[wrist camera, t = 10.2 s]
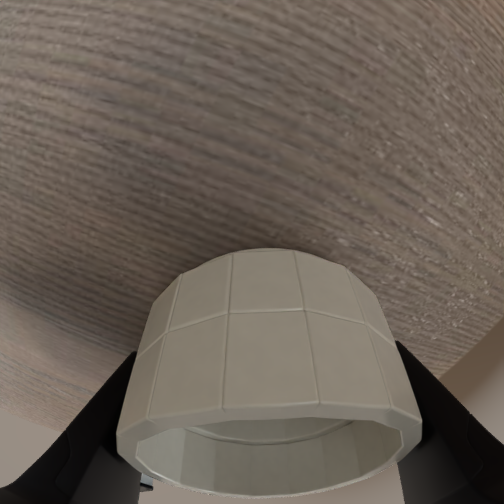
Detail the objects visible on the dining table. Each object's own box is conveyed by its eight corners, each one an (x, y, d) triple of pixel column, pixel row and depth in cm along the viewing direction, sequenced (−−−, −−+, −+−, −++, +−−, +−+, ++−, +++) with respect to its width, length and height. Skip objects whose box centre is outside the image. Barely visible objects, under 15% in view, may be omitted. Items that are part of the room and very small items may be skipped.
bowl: (267, 407, 13) (270, 504, 9) (117, 332, 10) (78, 452, 6) (411, 320, 10) (457, 437, 6) (260, 180, 7) (271, 342, 3)
